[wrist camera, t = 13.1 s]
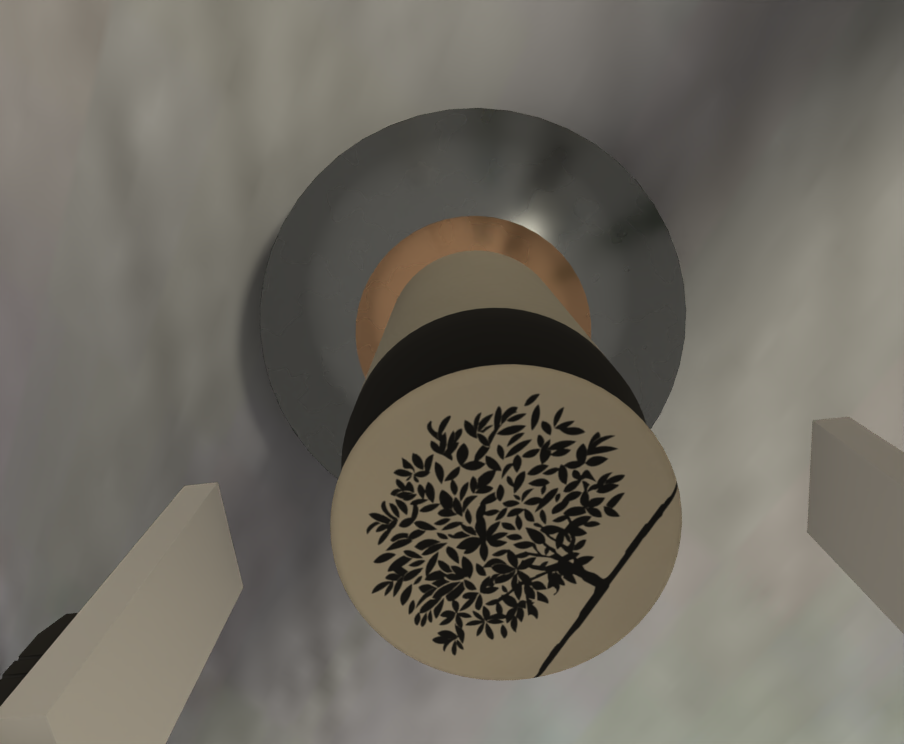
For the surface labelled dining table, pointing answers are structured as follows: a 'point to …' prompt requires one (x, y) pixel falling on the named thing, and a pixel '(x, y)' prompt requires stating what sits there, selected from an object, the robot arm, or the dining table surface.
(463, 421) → the travel mug
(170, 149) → the dining table surface
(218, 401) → the dining table surface
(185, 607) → the robot arm
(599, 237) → the grey flat disc
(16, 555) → the dining table surface
